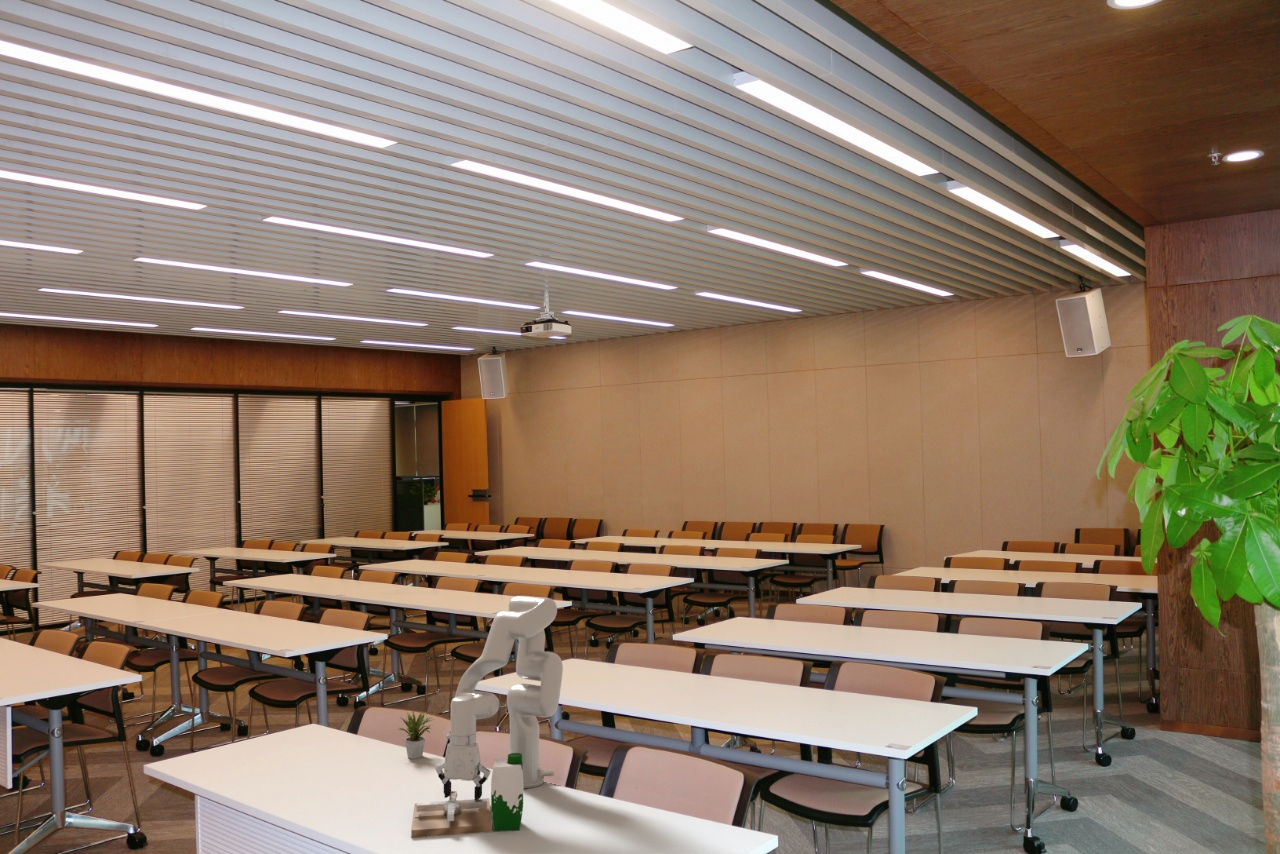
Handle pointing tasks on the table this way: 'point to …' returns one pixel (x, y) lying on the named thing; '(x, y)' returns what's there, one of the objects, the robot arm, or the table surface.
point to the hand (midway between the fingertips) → (462, 797)
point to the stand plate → (451, 822)
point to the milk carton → (507, 793)
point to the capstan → (451, 806)
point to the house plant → (415, 735)
